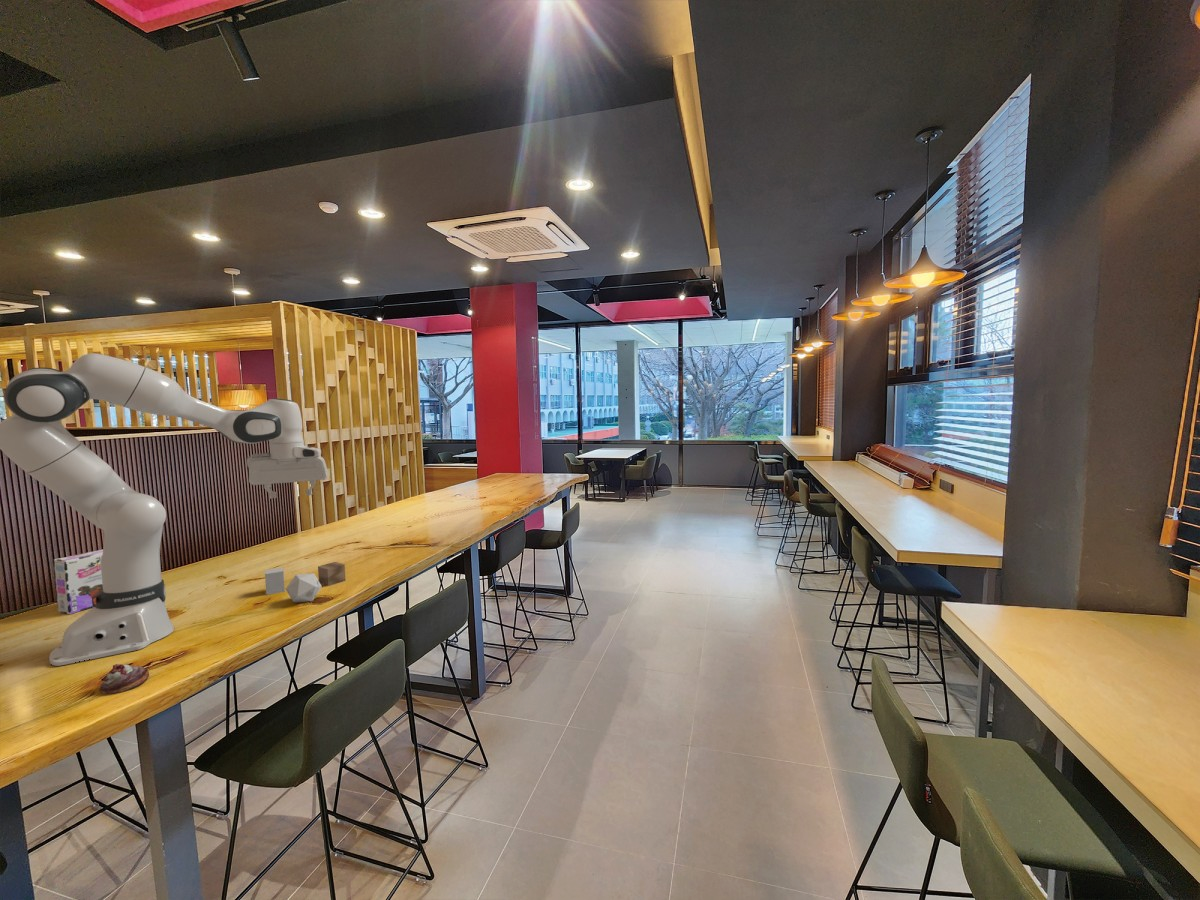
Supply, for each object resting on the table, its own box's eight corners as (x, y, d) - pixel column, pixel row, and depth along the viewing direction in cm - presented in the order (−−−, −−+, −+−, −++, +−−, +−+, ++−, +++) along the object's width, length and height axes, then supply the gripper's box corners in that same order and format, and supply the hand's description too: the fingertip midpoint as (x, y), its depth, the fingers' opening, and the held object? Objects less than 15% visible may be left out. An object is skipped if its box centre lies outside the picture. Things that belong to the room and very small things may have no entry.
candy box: (69, 615, 142) (63, 560, 140) (57, 612, 143) (52, 559, 142) (127, 597, 155) (123, 548, 153) (116, 595, 156) (111, 546, 155)
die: (300, 609, 145) (321, 579, 149) (274, 595, 145) (296, 565, 148) (311, 609, 153) (331, 580, 157) (286, 595, 153) (307, 567, 156)
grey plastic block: (266, 595, 156) (264, 574, 155) (266, 590, 160) (265, 570, 159) (284, 591, 159) (283, 571, 158) (284, 587, 163) (283, 567, 162)
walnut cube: (328, 586, 163) (327, 569, 163) (318, 583, 166) (317, 566, 166) (345, 580, 168) (344, 564, 168) (335, 578, 171) (335, 561, 171)
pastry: (89, 693, 101) (87, 671, 101) (129, 674, 109) (127, 653, 108) (120, 697, 100) (118, 674, 100) (159, 677, 108) (157, 656, 107)
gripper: (243, 455, 139) (247, 502, 140) (324, 450, 147) (327, 495, 148) (248, 453, 144) (253, 498, 146) (326, 449, 153) (329, 491, 154)
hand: (291, 496), depth 147 cm, fingers open, 8 cm apart
